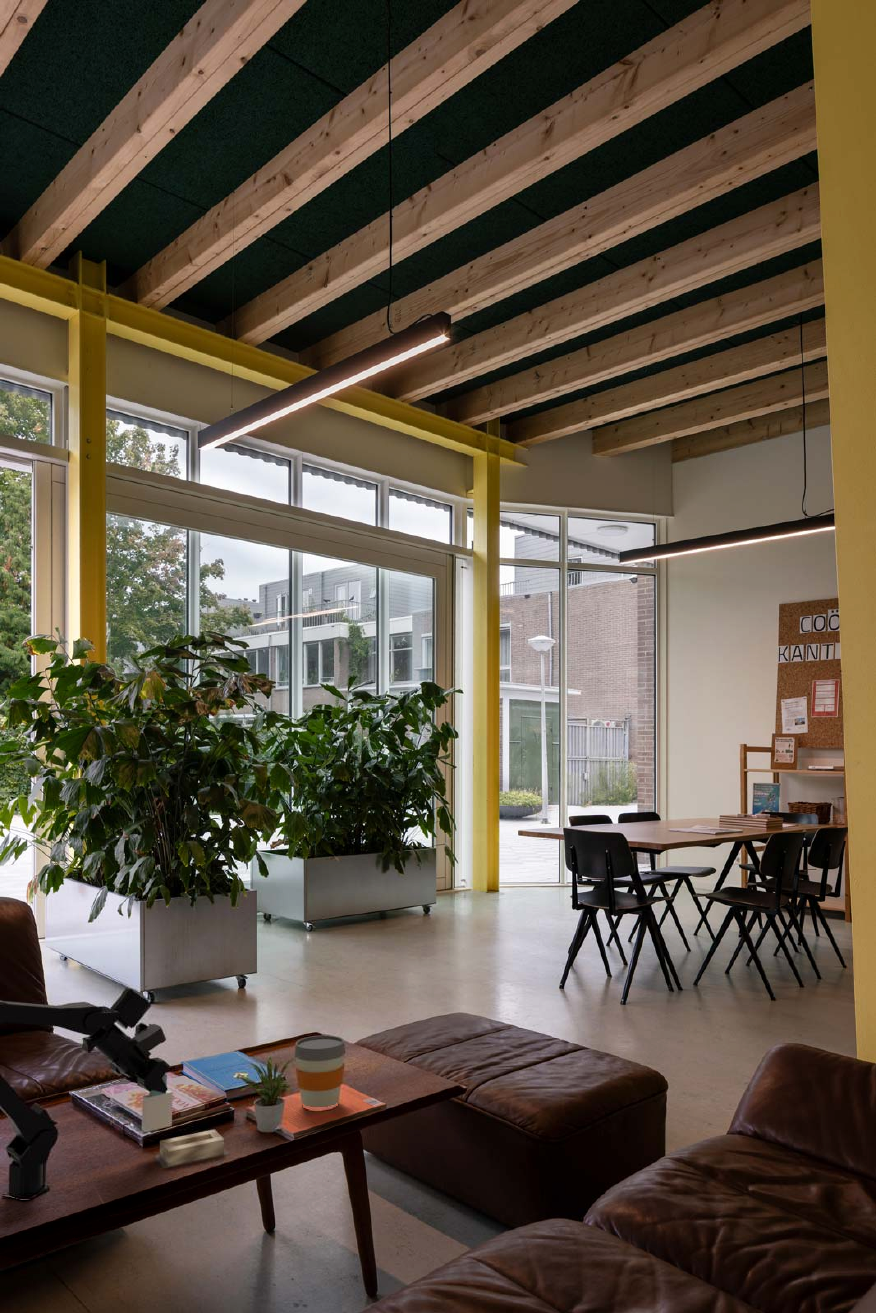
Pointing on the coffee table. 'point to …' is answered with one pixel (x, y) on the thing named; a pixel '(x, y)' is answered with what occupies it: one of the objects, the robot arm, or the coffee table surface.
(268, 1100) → the house plant
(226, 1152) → the mat
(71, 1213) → the coffee table surface
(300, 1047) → the reusable coffee cup
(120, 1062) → the robot arm
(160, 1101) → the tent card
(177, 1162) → the slot rack
